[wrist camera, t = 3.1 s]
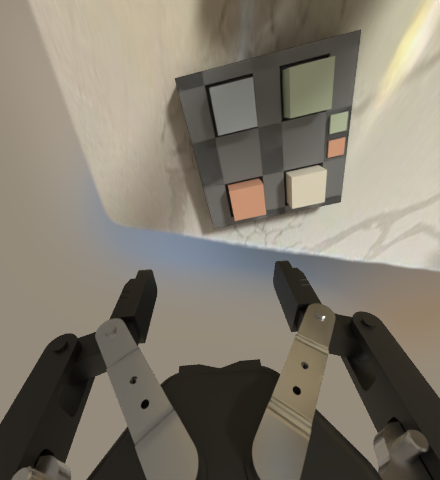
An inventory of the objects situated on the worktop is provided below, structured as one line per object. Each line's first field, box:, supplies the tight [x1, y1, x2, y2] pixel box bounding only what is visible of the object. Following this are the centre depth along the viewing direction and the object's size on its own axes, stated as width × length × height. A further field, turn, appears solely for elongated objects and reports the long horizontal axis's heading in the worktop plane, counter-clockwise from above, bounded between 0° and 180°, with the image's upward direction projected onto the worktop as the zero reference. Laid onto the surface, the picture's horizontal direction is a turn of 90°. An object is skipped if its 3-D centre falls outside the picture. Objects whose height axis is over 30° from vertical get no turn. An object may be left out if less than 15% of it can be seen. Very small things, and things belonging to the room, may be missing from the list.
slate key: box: [209, 77, 258, 136], centre depth 23 cm, size 4×4×2 cm
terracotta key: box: [228, 178, 266, 221], centre depth 29 cm, size 4×4×2 cm
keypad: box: [175, 30, 361, 229], centre depth 28 cm, size 19×19×3 cm
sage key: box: [282, 56, 335, 118], centre depth 23 cm, size 4×4×2 cm
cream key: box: [285, 165, 327, 209], centre depth 29 cm, size 4×4×2 cm
